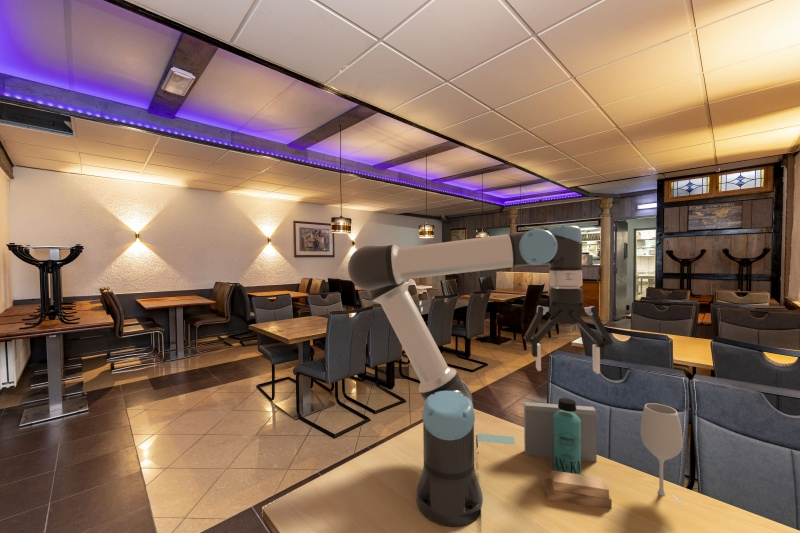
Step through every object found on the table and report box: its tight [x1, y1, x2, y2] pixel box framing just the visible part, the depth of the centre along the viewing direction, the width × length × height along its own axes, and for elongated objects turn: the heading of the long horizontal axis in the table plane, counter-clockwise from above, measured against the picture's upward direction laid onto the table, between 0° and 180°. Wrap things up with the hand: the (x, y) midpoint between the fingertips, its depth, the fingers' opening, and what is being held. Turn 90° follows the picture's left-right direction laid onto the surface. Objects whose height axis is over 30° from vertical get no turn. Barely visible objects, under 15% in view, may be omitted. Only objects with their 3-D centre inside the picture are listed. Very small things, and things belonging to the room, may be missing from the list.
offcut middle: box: [543, 477, 613, 510], centre depth 75 cm, size 13×4×2 cm, turn 76°
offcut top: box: [550, 469, 610, 499], centre depth 75 cm, size 11×4×2 cm, turn 73°
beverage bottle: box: [552, 397, 582, 475], centre depth 84 cm, size 6×7×20 cm
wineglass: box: [640, 402, 684, 507], centre depth 76 cm, size 8×8×21 cm
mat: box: [476, 433, 516, 455], centre depth 99 cm, size 11×11×1 cm
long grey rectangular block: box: [523, 401, 598, 463], centre depth 91 cm, size 18×2×15 cm, turn 78°
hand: (566, 370), depth 83 cm, fingers open, 13 cm apart
